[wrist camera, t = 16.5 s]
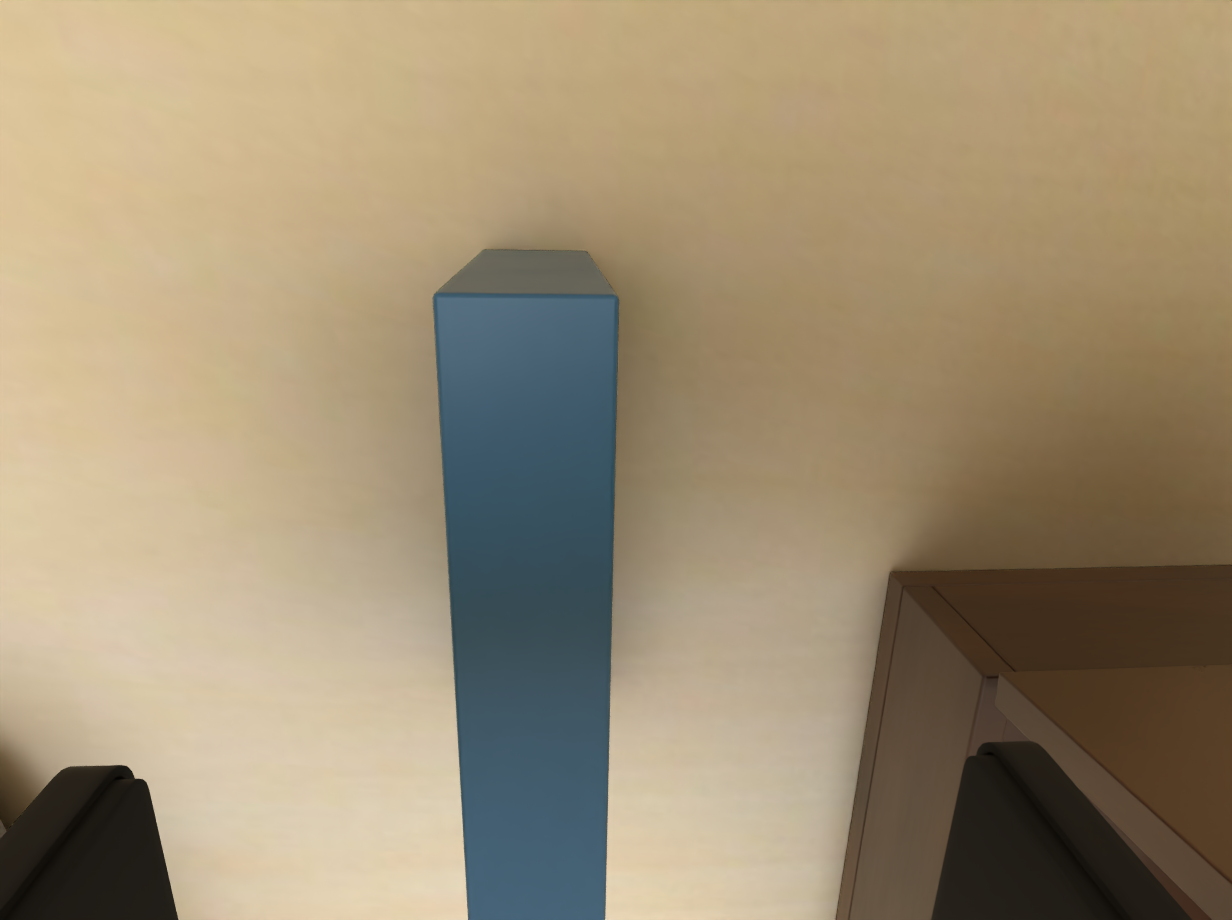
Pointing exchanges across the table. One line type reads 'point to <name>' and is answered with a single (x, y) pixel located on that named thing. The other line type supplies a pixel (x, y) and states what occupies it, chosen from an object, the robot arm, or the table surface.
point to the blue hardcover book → (530, 572)
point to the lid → (1144, 759)
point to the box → (966, 691)
